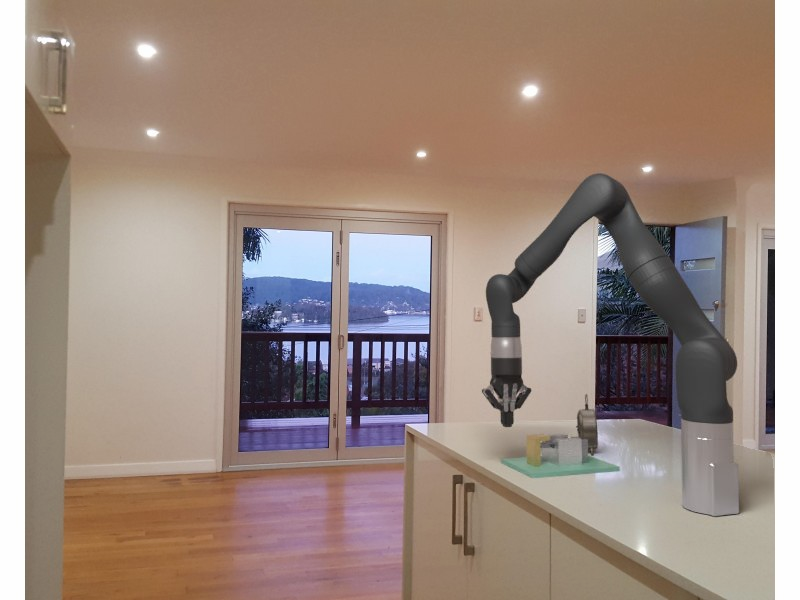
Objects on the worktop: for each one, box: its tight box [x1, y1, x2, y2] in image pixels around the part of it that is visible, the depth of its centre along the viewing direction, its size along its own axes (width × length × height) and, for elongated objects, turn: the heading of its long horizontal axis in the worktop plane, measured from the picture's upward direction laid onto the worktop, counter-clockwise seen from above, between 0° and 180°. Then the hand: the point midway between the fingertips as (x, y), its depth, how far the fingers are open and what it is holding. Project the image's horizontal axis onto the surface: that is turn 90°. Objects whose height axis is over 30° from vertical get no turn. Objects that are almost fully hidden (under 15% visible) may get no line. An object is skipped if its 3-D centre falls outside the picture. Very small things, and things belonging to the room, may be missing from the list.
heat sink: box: [541, 433, 589, 467], centre depth 157 cm, size 8×10×6 cm
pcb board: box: [500, 455, 621, 479], centre depth 156 cm, size 16×24×1 cm, turn 108°
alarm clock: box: [575, 393, 599, 456], centre depth 174 cm, size 11×5×16 cm, turn 168°
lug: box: [526, 433, 550, 466], centre depth 154 cm, size 4×5×7 cm
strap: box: [541, 441, 555, 449], centre depth 156 cm, size 3×12×1 cm, turn 107°
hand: (507, 426), depth 152 cm, fingers closed
